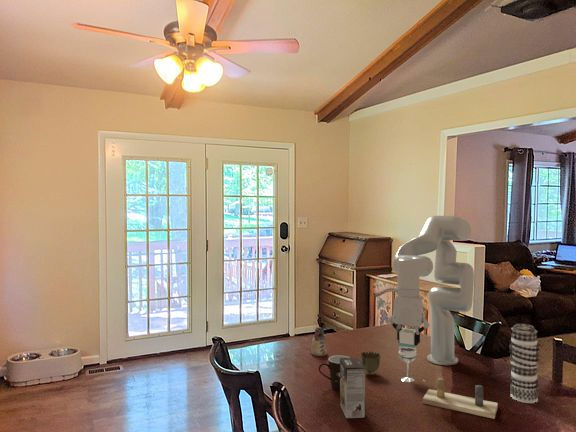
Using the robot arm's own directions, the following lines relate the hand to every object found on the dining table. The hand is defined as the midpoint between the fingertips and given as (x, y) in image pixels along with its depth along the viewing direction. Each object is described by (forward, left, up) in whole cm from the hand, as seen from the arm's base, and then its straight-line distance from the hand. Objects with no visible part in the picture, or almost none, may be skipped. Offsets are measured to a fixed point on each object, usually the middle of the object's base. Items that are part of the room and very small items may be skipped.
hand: (408, 342), depth 157 cm
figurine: (-20, -46, -18) cm, 53 cm away
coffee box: (+25, -11, -18) cm, 33 cm away
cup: (-8, -17, -18) cm, 26 cm away
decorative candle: (-14, +36, -18) cm, 42 cm away
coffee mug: (+9, -24, -18) cm, 31 cm away
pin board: (+3, +18, -17) cm, 25 cm away
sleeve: (0, 0, -1) cm, 1 cm away
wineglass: (-10, -3, -18) cm, 20 cm away
